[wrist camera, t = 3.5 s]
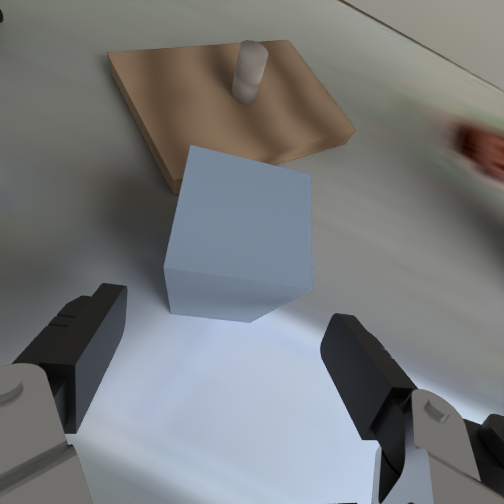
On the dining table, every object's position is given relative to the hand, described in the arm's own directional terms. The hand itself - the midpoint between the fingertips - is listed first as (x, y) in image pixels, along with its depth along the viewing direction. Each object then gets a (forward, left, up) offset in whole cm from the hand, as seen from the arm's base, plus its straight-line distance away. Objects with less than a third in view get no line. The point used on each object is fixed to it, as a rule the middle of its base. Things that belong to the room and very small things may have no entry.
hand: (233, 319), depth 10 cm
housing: (-2, -3, -9) cm, 10 cm away
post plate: (-12, -18, -9) cm, 24 cm away
